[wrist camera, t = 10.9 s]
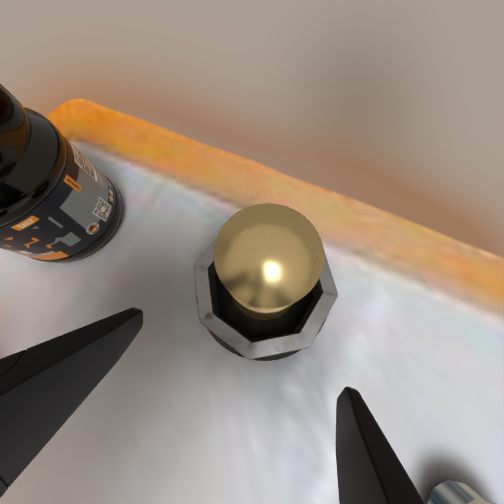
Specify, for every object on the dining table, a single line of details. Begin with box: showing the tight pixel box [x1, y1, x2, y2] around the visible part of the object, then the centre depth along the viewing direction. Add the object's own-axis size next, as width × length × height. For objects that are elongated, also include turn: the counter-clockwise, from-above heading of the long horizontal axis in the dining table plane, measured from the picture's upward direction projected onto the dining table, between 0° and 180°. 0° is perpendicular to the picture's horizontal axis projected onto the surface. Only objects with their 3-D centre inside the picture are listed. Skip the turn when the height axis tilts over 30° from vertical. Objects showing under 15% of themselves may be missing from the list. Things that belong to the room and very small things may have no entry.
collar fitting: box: [194, 239, 338, 361], centre depth 18 cm, size 12×12×4 cm
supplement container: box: [0, 84, 122, 263], centre depth 17 cm, size 10×10×12 cm
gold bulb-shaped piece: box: [214, 204, 324, 320], centre depth 14 cm, size 6×6×10 cm
